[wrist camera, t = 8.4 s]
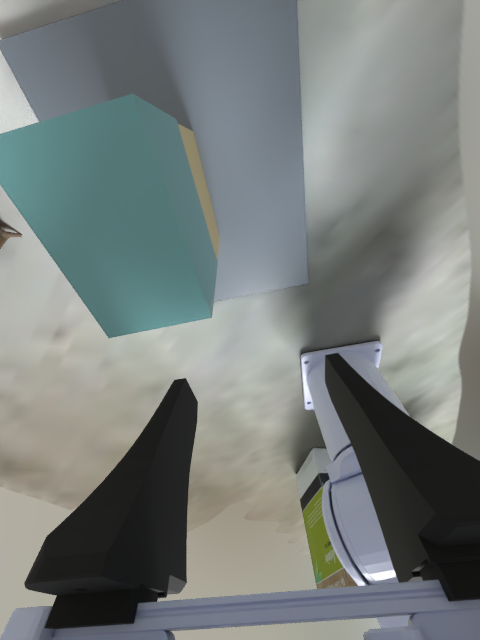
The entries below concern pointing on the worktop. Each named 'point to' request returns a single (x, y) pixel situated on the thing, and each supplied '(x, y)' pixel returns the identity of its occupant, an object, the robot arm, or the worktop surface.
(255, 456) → the worktop surface
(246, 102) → the baseplate
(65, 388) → the worktop surface
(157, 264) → the teal brick
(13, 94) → the worktop surface
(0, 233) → the fruit
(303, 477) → the tea box
